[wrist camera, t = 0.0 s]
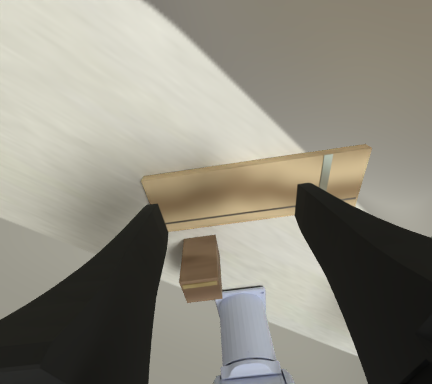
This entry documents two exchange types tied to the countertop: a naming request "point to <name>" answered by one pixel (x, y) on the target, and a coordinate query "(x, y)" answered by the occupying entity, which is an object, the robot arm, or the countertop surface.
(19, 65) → the countertop surface
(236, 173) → the oak board
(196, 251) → the block
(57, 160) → the countertop surface
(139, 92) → the countertop surface
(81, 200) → the countertop surface
